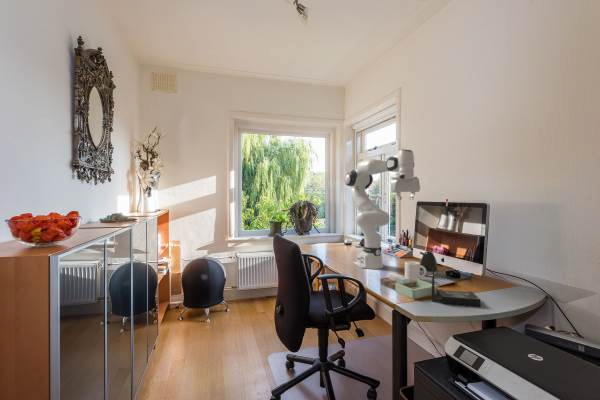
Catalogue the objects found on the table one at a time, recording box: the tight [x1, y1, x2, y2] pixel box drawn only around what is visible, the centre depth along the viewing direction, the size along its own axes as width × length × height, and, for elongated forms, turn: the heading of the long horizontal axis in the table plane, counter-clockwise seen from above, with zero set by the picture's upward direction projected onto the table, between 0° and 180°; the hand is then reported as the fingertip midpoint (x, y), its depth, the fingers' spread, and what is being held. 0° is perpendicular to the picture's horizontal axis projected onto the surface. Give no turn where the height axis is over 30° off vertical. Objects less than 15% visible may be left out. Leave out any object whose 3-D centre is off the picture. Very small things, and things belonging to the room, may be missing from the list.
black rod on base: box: [431, 267, 481, 308], centre depth 138 cm, size 20×14×17 cm
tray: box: [394, 279, 438, 301], centre depth 149 cm, size 12×16×5 cm
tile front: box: [396, 275, 410, 284], centre depth 158 cm, size 5×5×2 cm
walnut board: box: [379, 277, 417, 291], centre depth 161 cm, size 13×14×3 cm
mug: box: [404, 260, 426, 282], centre depth 171 cm, size 12×8×10 cm
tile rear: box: [388, 273, 402, 281], centre depth 163 cm, size 5×5×2 cm
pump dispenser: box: [419, 250, 438, 276], centre depth 181 cm, size 10×10×15 cm
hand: (405, 199), depth 172 cm, fingers open, 8 cm apart
